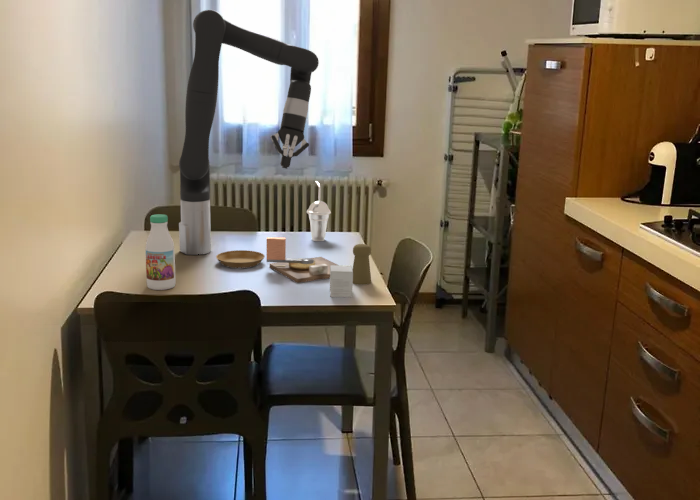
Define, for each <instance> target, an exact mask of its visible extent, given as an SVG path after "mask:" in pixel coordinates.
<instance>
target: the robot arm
mask: <svg viewBox="0 0 700 500" xmlns="http://www.w3.org/2000/svg"><path fill="white" fill-rule="evenodd" d="M192 27H193V31H194V34H195V37H194V39H195V40H194V42H195V43H194V46H195V47H194V57H193V60H192V65H191V69H190V71H189V76H188V80H187V81H188V82H187V88H186V94H185V95H186V97H185V114H184V115H185V116H184V117H185V118H184V119H185V121H184V123H185V124H184V125H185V132H184V133H185V134H184V141H183V147H182V151H181V155H180V158H179V163H178V167H179V175H180V176H179V179H180V182H179V184H180V185H179V186H180V187H179V188H180V189H179V190H180V191H179V195H180V199H179V200H180V222H178V234H179V235H178V237H179V251H180V252H181V253H183V254H184V255H186V256H188V255H192V256H194V255H198V254H199V255H206V254H209V253H211V252H212V241H211V239H212V237H211V232H212V230H211V184H210V183H211V182H210V181H211V180H210V179H211V178H210V177H211V176H210V172H211V171H210V170H211V169H210V168H211V167H210V157H209V153H210V152H209V151H210V150H209V149H210V134H211V130H212V126H213V123H214V118H215V113H216V109H217V100H218V90H219V89H218V88H219V68H220V67H219V64H220V62H219V61H220V56H221V55H220V54H221V50H222V45H223V44H224V45H228V46H231V47H233V48H236V49H239V50H241V51H244V52H246V53H248V54H251V55H253V56H255V57H257V58H260V59H261V60H262V59H263V60H265V61H268V62H270V63H272V64H276V65H278V66H287V67H290V76H289V77H290V78H289V80H290V81H289V86H288V90H287V96H286V101H285V104H284V108H283V110H282V118H281V122H280V123H281V124H280V127H279V129H278V131H277V133H275V134H273V135H270V136H269V137H270V141H271V142H272V144H273V147H274V149H275V151H276V152H277V153H278V154H280V155H281V159H280V167H281V168H282V169H286V170H287V169H288V168H290V166H291V161H292V158H294V157H298V156H299V155H300V154H302V152H304V151H305V150H306V149H307V148H308V147H309V146H310V143H309V142H307V141H306V139H305V135H304V132H305V127H306V123H307V117H308V112H309V104H310V98H311V92H312V86H311V77H312V73H313V72H315V71H316V70H317V69H318V66H319V63H320V62H319V58H318V56H317V54H315V52H314V51H312V50H311V49H308V48H304V47H300V46H296V45H291V44H288V43H286V42H284V41H281V40H279V39H276V38H273V37H271V36H268V35H265V34H262V33H258V32H255V31H252V30H248V29H245V28H243V27H240V26H238V25H236V24H233V23H231V22H230V21H228V20H226V19H225V18H224V17H223V16H222V14H221V13H220V12H219V11H216V10H215V9H206V10H205V9H204V10H202V11H200V12H199V13H198V14H197V15H196V16H195V17H194V19H193V23H192ZM279 140H280V142H281V144H282V147H281V145H280V143H279ZM299 144H300V147H298V148H297V150H295V149H296V147H297V146H298V145H299Z"/></svg>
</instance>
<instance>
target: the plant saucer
mask: <svg viewBox="0 0 700 500" xmlns="http://www.w3.org/2000/svg"><path fill="white" fill-rule="evenodd" d="M215 257H216V260H217V261H218V262H219V263H221V265H223V266H224V267H226V268H230V269H249V268H253V267H257V266H258V265H259V264H261V262H262V261H264V258H265V254H264V253H262V252H261V251H260V252H258V251H255V250H228V251H224V252H223V251H222V252H220V253H218V254H217V255H216V256H215Z"/></svg>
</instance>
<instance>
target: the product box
mask: <svg viewBox="0 0 700 500" xmlns="http://www.w3.org/2000/svg"><path fill="white" fill-rule="evenodd" d="M353 285H354V284H353V265H346V264H345V265H343V264H341V265H339V264H337V265H331V266H330V278H329V292H330V297H331V298H353Z"/></svg>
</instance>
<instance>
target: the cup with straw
mask: <svg viewBox="0 0 700 500" xmlns="http://www.w3.org/2000/svg"><path fill="white" fill-rule="evenodd" d="M315 183H316V185H317V187H318V197H317V198H318V200H316V201H313V202H312V203H311V204H310V205H309V207H308V209H307V210H306V214H308V218H309V223H310V234H311V241H313V242H324V241H326V238H325V237H326V234H327V233H326V232H327V226H328V220H329V216H330V214H332V212H331V209H329V206H328V204H327V203H326V202H325V201H322V200H321V195H322V194H321V191H322V190H321V189H322V188H321V184H320V183H319V181H318V180H315Z"/></svg>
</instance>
